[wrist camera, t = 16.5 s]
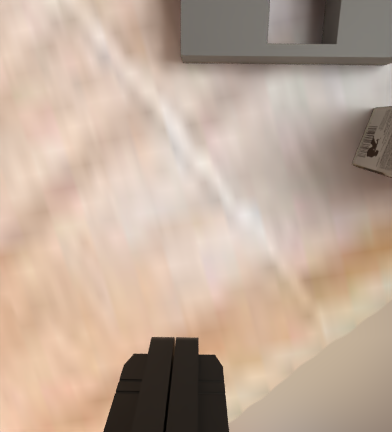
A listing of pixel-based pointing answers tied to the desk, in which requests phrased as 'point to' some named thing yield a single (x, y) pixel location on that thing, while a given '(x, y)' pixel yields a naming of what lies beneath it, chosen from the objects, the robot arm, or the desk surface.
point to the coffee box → (377, 143)
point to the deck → (285, 53)
